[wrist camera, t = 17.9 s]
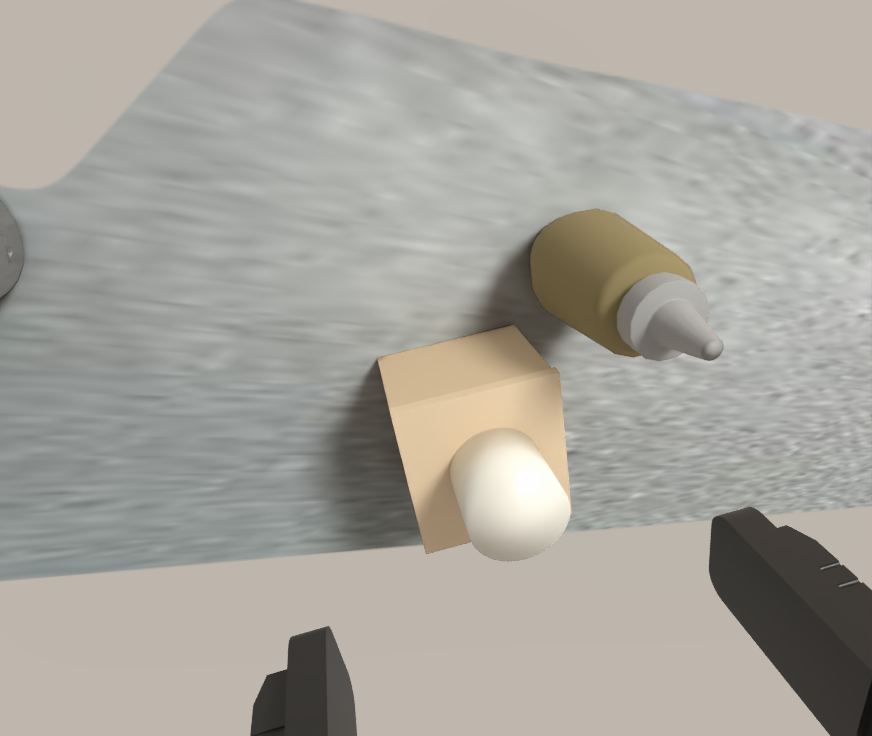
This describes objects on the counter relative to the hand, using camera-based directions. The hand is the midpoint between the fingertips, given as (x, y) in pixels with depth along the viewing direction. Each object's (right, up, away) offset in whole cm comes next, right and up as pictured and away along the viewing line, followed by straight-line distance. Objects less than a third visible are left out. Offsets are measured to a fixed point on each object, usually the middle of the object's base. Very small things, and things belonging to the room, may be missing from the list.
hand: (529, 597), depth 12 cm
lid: (+2, -2, +28) cm, 29 cm away
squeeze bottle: (+8, +13, +32) cm, 35 cm away
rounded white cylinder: (+2, -2, +28) cm, 28 cm away
